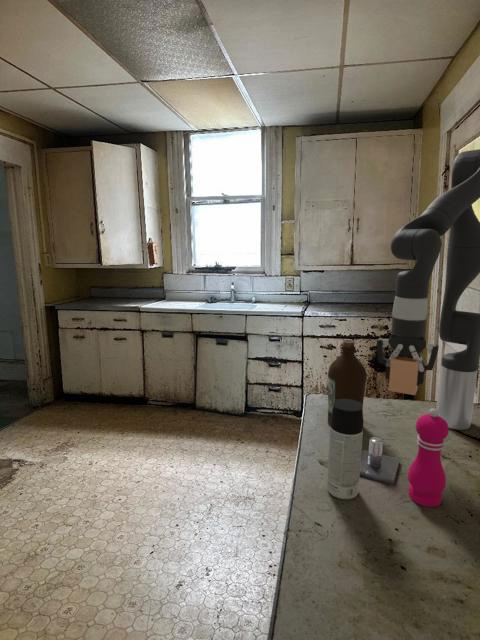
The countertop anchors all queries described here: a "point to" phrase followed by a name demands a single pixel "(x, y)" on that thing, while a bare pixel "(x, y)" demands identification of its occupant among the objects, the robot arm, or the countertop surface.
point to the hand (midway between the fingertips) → (403, 382)
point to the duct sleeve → (403, 375)
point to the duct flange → (378, 463)
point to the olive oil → (346, 377)
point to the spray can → (345, 448)
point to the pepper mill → (428, 460)
